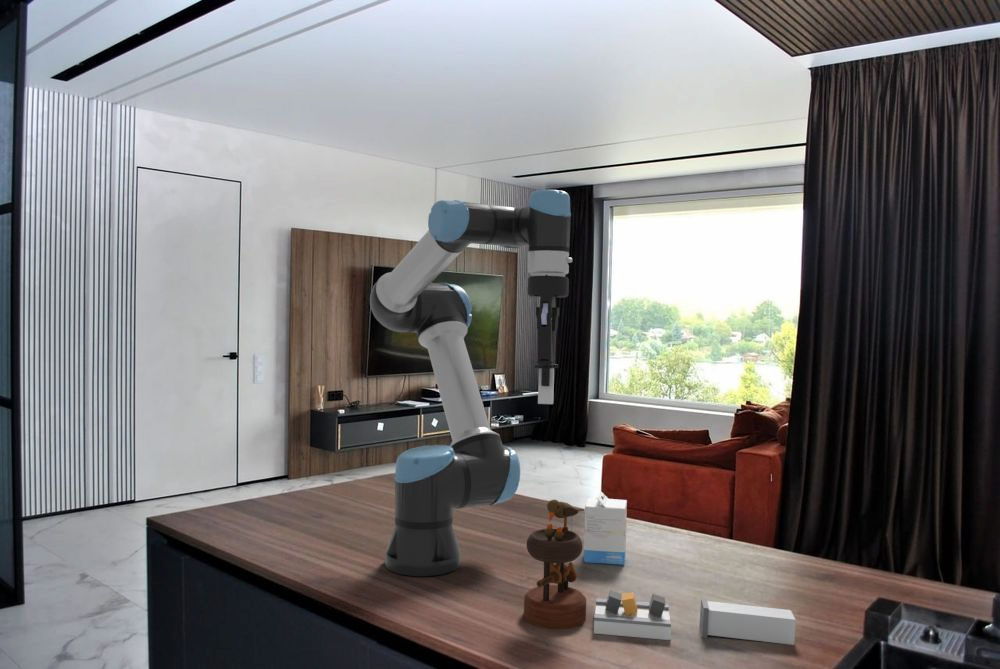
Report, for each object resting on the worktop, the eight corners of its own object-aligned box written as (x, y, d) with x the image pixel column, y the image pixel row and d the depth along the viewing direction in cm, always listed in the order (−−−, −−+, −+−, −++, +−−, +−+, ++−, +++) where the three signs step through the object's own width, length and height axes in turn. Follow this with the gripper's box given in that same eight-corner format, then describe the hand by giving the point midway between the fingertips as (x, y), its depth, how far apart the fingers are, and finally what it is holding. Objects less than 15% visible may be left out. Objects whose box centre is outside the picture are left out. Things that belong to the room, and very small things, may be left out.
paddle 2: (625, 614, 125) (621, 600, 125) (625, 608, 128) (622, 594, 128) (637, 612, 125) (633, 598, 125) (637, 606, 127) (633, 592, 127)
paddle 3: (648, 613, 124) (653, 599, 124) (648, 607, 127) (652, 593, 127) (661, 617, 124) (665, 603, 124) (660, 611, 127) (664, 597, 126)
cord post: (703, 607, 122) (796, 618, 119) (701, 597, 126) (790, 606, 124) (702, 637, 122) (794, 648, 120) (699, 625, 127) (788, 636, 124)
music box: (537, 597, 138) (549, 487, 137) (596, 613, 134) (608, 500, 132) (502, 627, 124) (515, 506, 123) (566, 646, 120) (580, 520, 118)
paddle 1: (605, 609, 125) (609, 596, 125) (605, 603, 128) (610, 590, 128) (617, 614, 125) (621, 600, 125) (617, 607, 128) (621, 594, 128)
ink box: (624, 566, 156) (626, 500, 156) (583, 562, 158) (584, 497, 158) (626, 553, 165) (627, 491, 165) (587, 550, 167) (588, 488, 166)
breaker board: (593, 633, 123) (594, 617, 123) (596, 612, 132) (596, 597, 131) (670, 640, 121) (670, 624, 121) (667, 618, 130) (668, 603, 129)
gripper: (565, 273, 134) (562, 408, 135) (571, 277, 147) (568, 400, 148) (523, 273, 135) (520, 406, 136) (532, 277, 148) (530, 399, 149)
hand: (545, 403), depth 142 cm, fingers closed
